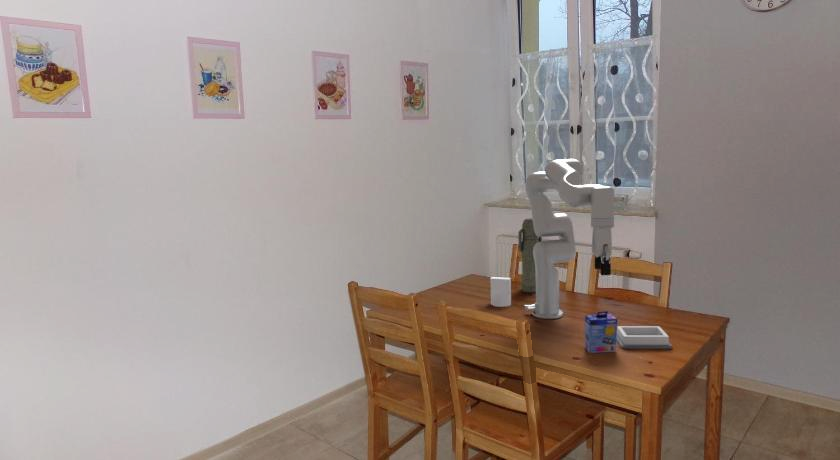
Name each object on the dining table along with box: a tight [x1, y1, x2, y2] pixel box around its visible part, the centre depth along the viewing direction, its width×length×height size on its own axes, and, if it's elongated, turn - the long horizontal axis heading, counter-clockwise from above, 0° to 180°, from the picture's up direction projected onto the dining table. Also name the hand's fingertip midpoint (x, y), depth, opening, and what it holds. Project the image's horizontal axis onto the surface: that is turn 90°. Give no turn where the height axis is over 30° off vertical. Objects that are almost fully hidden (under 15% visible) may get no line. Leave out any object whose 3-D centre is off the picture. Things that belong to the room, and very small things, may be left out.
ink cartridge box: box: [584, 310, 618, 354], centre depth 197 cm, size 10×6×14 cm, turn 95°
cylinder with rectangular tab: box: [489, 276, 512, 308], centre depth 256 cm, size 9×9×12 cm
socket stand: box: [616, 325, 673, 350], centre depth 204 cm, size 17×13×4 cm
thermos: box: [517, 218, 543, 293], centre depth 275 cm, size 9×12×35 cm
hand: (602, 271), depth 196 cm, fingers open, 9 cm apart
